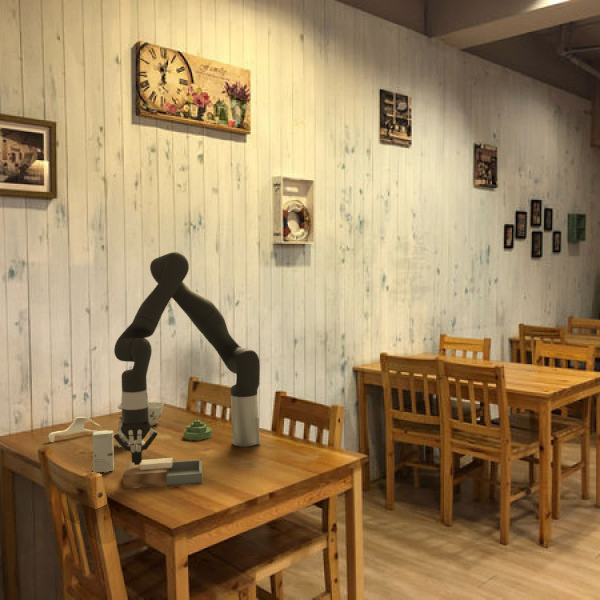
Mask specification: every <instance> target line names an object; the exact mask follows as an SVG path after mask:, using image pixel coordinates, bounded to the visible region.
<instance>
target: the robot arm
mask: <svg viewBox="0 0 600 600" xmlns="http://www.w3.org/2000/svg"><path fill="white" fill-rule="evenodd" d="M149 269H150V274H151V276H152V278H153V280H155V282H156V283H157V284H156V286H155V288H154V289H153V290H152V291H151V292H150V293H149V295H147V297H146V298H145V299H144V301H143V302H142V303H141V304H140V306H139V308H138V310H137V312H136V314H135V316H134V317H133V320H132V322H130V323H131V324H130V325H128V326H127V327H126V328H125V330H124V331H123V332H122V334H120V336H119V337H118V339H117V340H116V342H115V344H114V351H113V352H114V356H115V357H116V359H117V360H118V361H120V362H128V363H129V362H132V363H133V366H132V369H126V370H124V371H123V372H122V373H121V398H120V399H121V403H120V404H121V407H122V409H121V416H122V426H121V427H120V428H121V430H118V431H117V432H115V433H114V434H113V439H114V440H115V441H116V442H117V444H118V443H119V444H120V445H121V446H122V447H123V448H122V449H124V451H126V452H130V453H131V462H132V463H134V465H139V464H140V462H141V461H142V460H143V451H144V450H148V448H149V447H150V446H151V445H152V443H153V441H154V440H155V439H156V437H157V436H158V433H159V432H158V430H157V429H156V430H155V429H153V427H152V426H151V425H150V424H149V413H148V402H149V395H148V389H147V388H148V387H147V386H148V384H147V373H148V370H149V365H150V362H151V361H150V360H151V357H152V351H153V350H152V345H151V342H150V341H149V339H147V338H149V337H151V336H153V335H154V333H155V331H156V329H157V327H158V324H159V323H160V321H161V318H162V316H163V313H164V311H165V310H166V308H167V306H168V305H169V303H170V301H171V300H174V301H175V302H176V304H177V305H178V306H179V308H180V309H181V310H182V311H183V312H184V313H185V314H186V316H187V317H188V318H189V320H190V321H191V322H192V324H193V325H194V326H195V327H196V329H197V330H198V331H199V332H200V333H201V334H202V336H204V338H205V340H207V342H208V343H209V345H211V347H212V348H214V350H215V351H216V353H217V354H218V355H219V357H220V359H221V360H222V362H223V364H224V365H225V366H226V368H227V369H228V370H229V371H230V372H231V373H233V374H235V375H236V376H235V377H236V380H235V384H234V385H232V386H231V388H230V406H231V407H230V409H231V410H230V411H231V412H230V413H231V434H232V435H231V436H232V437H231V438H232V441H231V442H232V445H233V446H236V447H250V446H251V447H252V446H255V445H260V444H261V443H260V417H259V407H258V406H259V403H258V402H259V401H258V400H259V399H258V397H259V396H258V389H259V387H260V379H261V378H260V373H261V371H260V369H261V367H260V365H261V364H260V362H261V361H260V359H259V354H258V353H257V352H256V351H255V350H252V349H250V348H243V347H242V346H241V345H239V344H238V342H236V340H235V339H234V338H233V337H232V336H231V334H230V332H229V330H228V327H227V323H226V320H225V318H224V316H223V315H222V312H220V310H219V309H218V308H217V306H216V305H215V304H214V303H213V302H212V301H211V300H210V299H209V298H207V297H205V295H202V294H200V293H199V292H197V291H195V290H193V289H192V288H190V287H189V286H188V285H187V284H186V283H185V282H183V281H184V280H185V279H186V277H187V275H188V274H189V269H190V265H189V261H188V258H187V257H186V256H185V255H184V254H183V253H181V252H179V251H173V252H169V253H166V254H163V255H162V256H158V257H157V258H154V259H152V261H151V262H150V266H149ZM122 433H123V434H124V435H125V436H126V438H127V439H128V440H130V445H129V444H128V443H127V442H126V441H125V440H124V439H123V434H122ZM147 435H148V436H149V437H148V438H147V440H146V441H145V444H144V445H142V440H143V441H144V439H145V438H146V436H147ZM136 440H137V447H136Z"/></svg>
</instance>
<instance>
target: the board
mask: <svg viewBox="0 0 600 600" xmlns="http://www.w3.org/2000/svg"><path fill="white" fill-rule="evenodd" d="M140 463H141V462H140ZM168 473H169V468H157V469H145V470H140V464H139V465H134V463H132V461H128V462H127V464H126V467H125V468H124V472H123V475H122V481H123V483H122V484H123V489H124V488H130V489H135V488H134V487H143V488H152V487H153V488H155V487H168V486H167V482H166V475H168Z"/></svg>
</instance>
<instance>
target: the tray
mask: <svg viewBox="0 0 600 600" xmlns="http://www.w3.org/2000/svg"><path fill="white" fill-rule="evenodd" d="M166 482H167V486H166V487H175V486H188V485H189V484H190V485H200V484H201V485H202V484H203V459H190V460H176V461H175V460H173V465H172V468H169V473H168V475H166Z"/></svg>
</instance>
